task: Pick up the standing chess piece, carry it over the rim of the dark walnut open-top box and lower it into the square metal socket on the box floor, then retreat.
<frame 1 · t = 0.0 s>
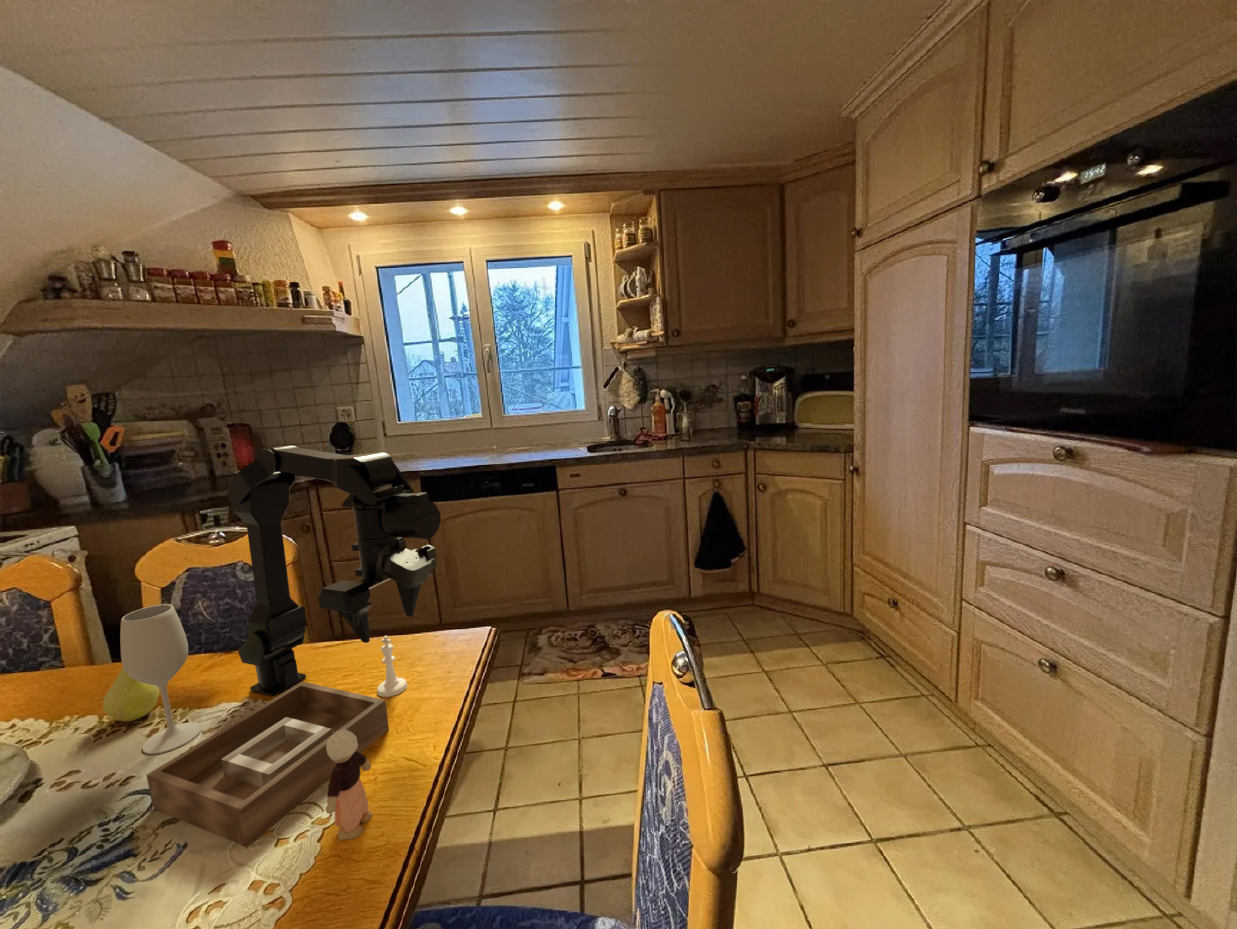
hand: (389, 628, 84), 15 cm above the table, fingers open, 9 cm apart
wineglass: (173, 739, 82), on the table
grandmother figurine: (353, 829, 64), on the table
chess piece: (392, 689, 93), on the table
fruit: (138, 716, 89), on the table
walnut box: (282, 765, 75), on the table
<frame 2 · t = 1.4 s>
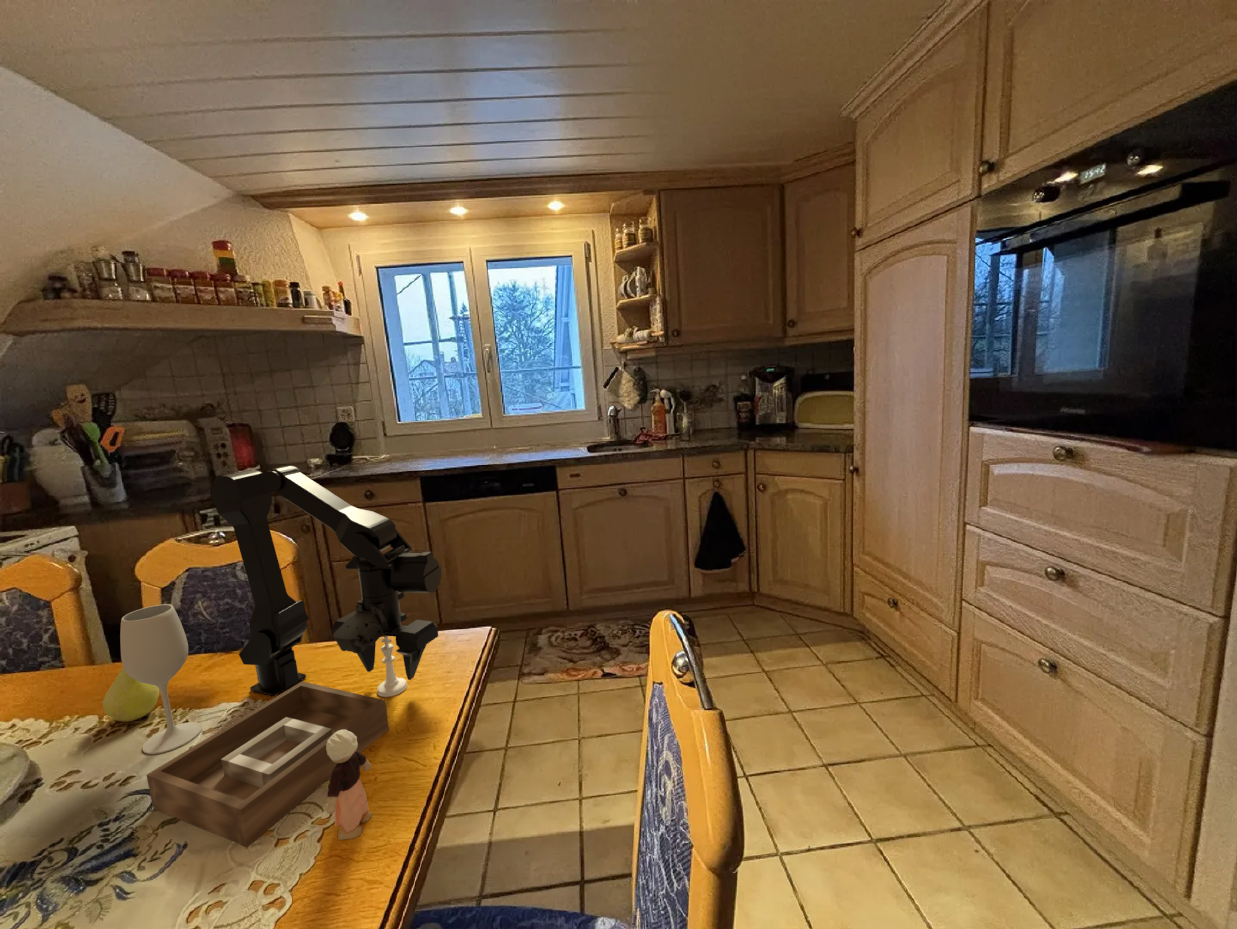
hand: (390, 674, 93), 3 cm above the table, fingers open, 9 cm apart
nothing on the table moved.
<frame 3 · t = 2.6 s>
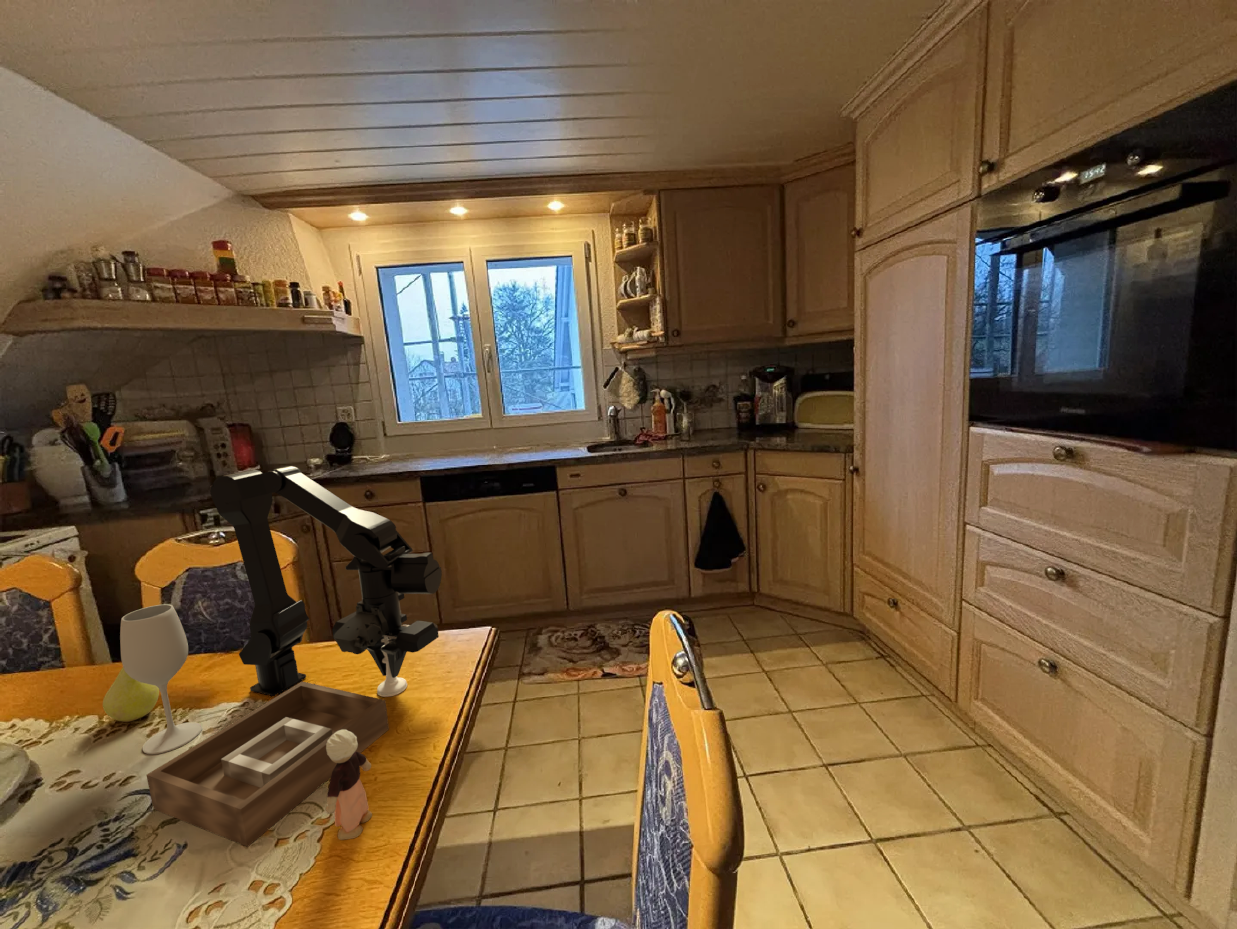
hand: (390, 675, 93), 3 cm above the table, fingers closed on chess piece
chess piece: (392, 689, 93), on the table, touching gripper
everything else where it was.
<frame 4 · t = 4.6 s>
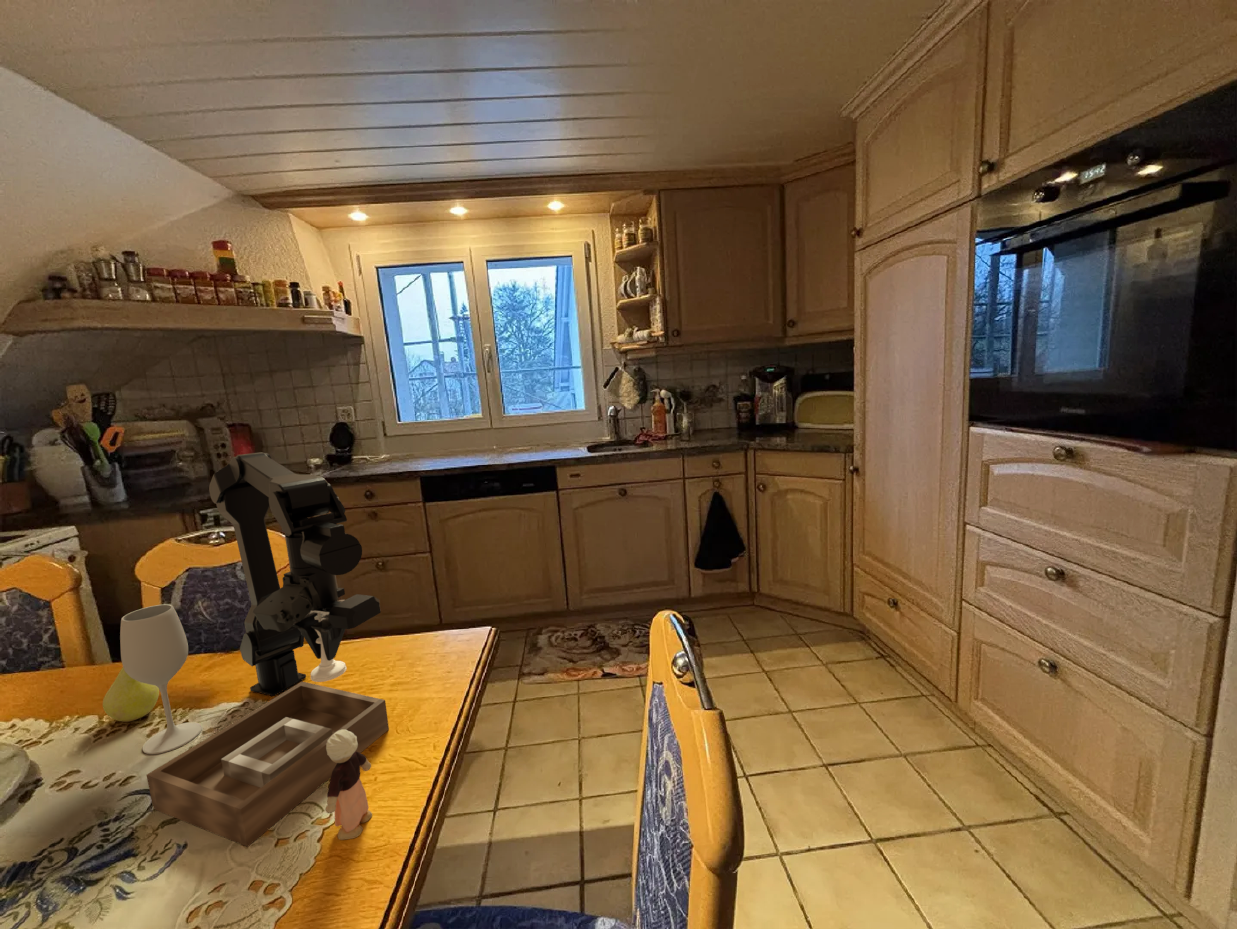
hand: (326, 658, 81), 12 cm above the table, fingers closed on chess piece
chess piece: (329, 674, 81), point 9 cm above the table, touching gripper
everything else where it was.
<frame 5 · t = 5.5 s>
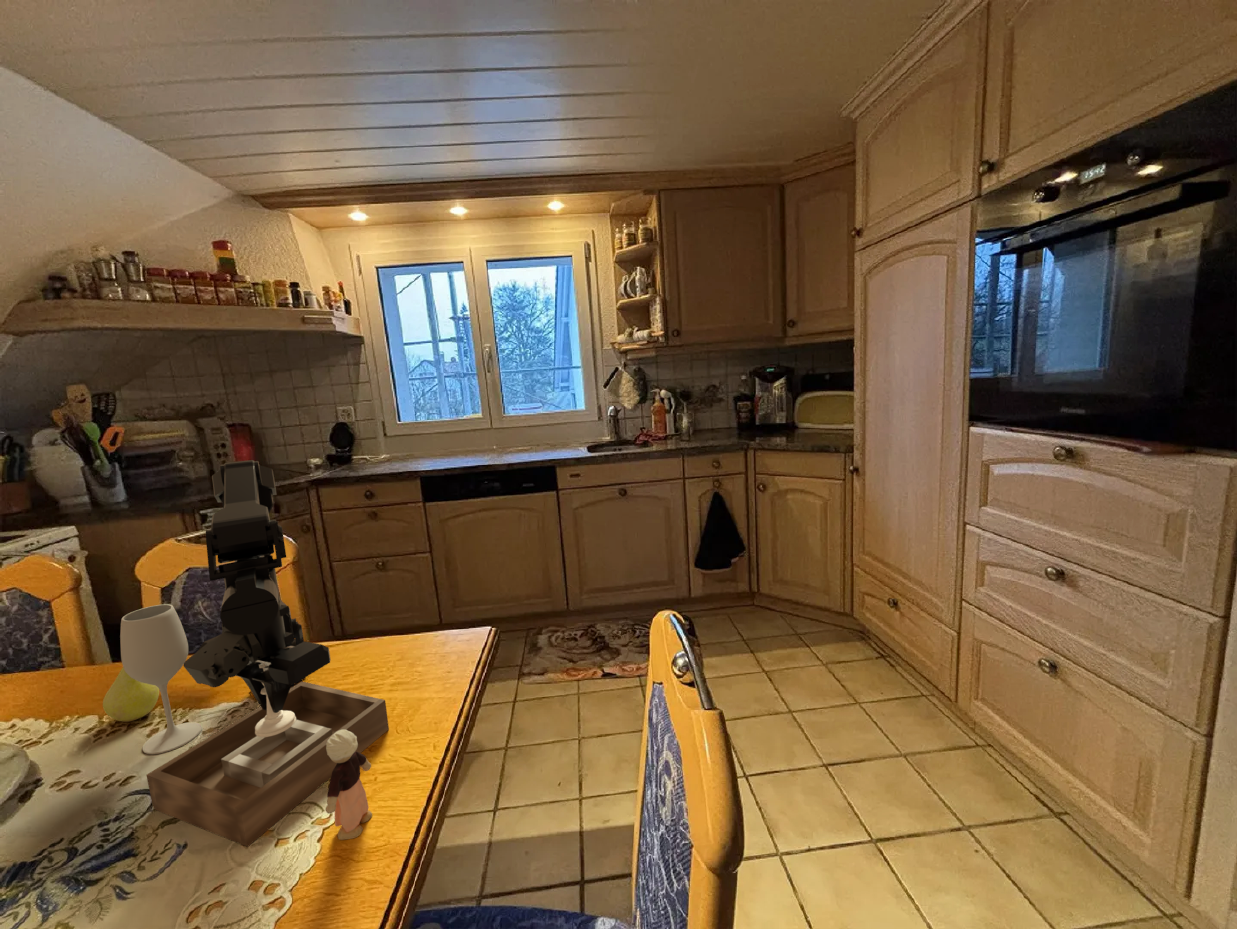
hand: (272, 709, 74), 9 cm above the table, fingers closed on chess piece
chess piece: (276, 727, 74), point 6 cm above the table, touching gripper
everything else where it was.
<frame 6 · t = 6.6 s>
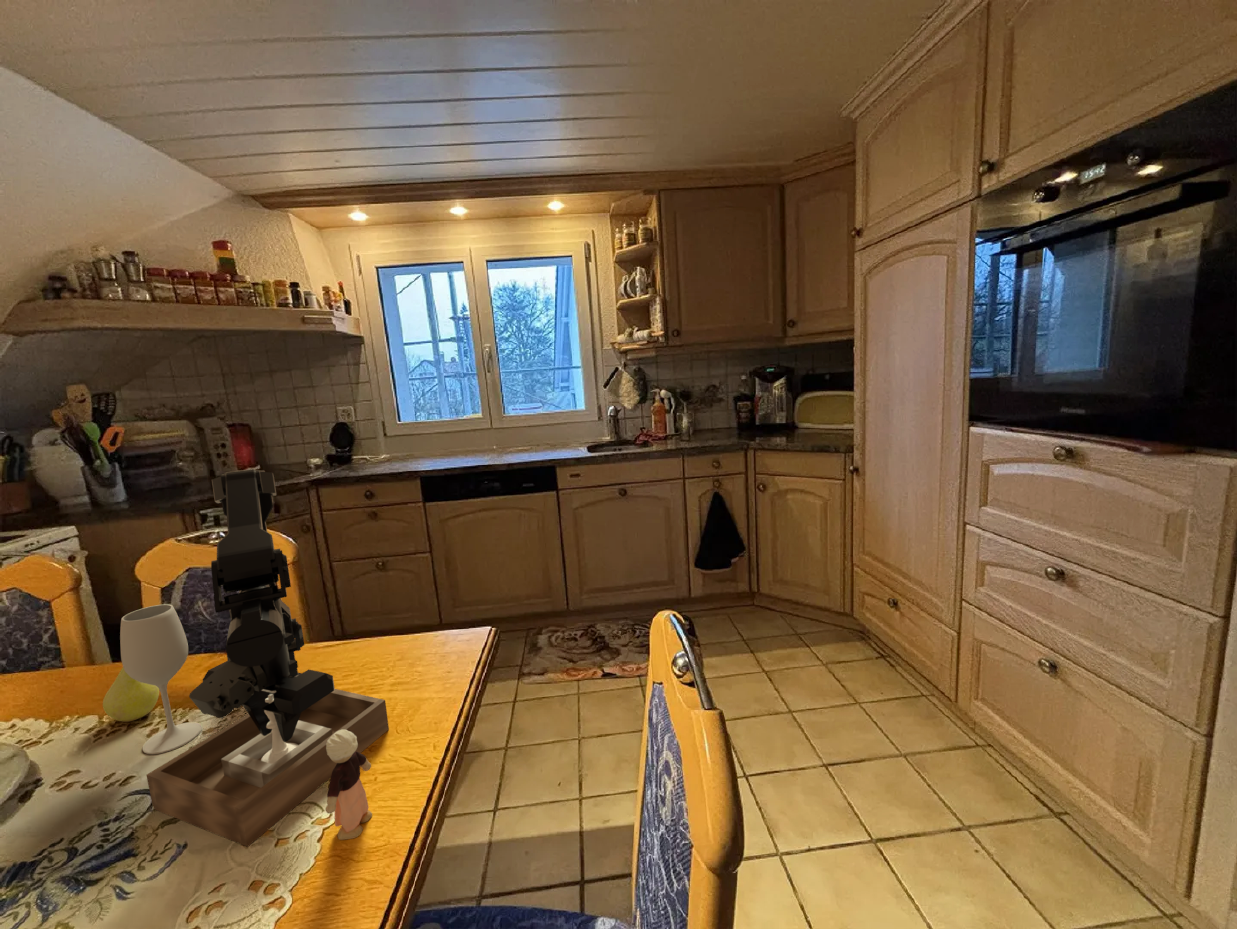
hand: (277, 737, 74), 4 cm above the table, fingers open, 4 cm apart
chess piece: (281, 760, 75), point 1 cm above the table, touching walnut box
everything else where it was.
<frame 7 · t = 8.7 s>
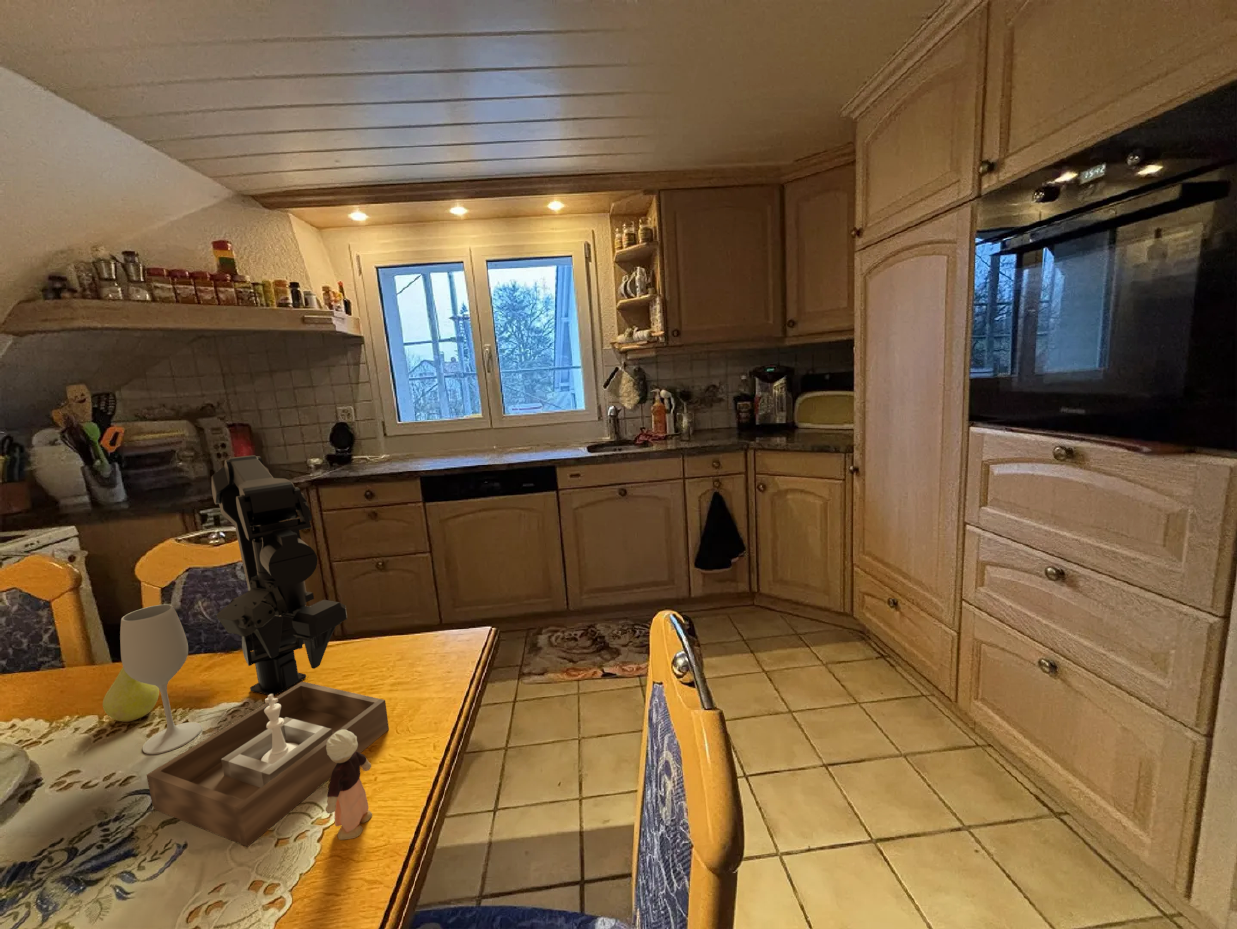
hand: (294, 662, 81), 12 cm above the table, fingers open, 9 cm apart
nothing on the table moved.
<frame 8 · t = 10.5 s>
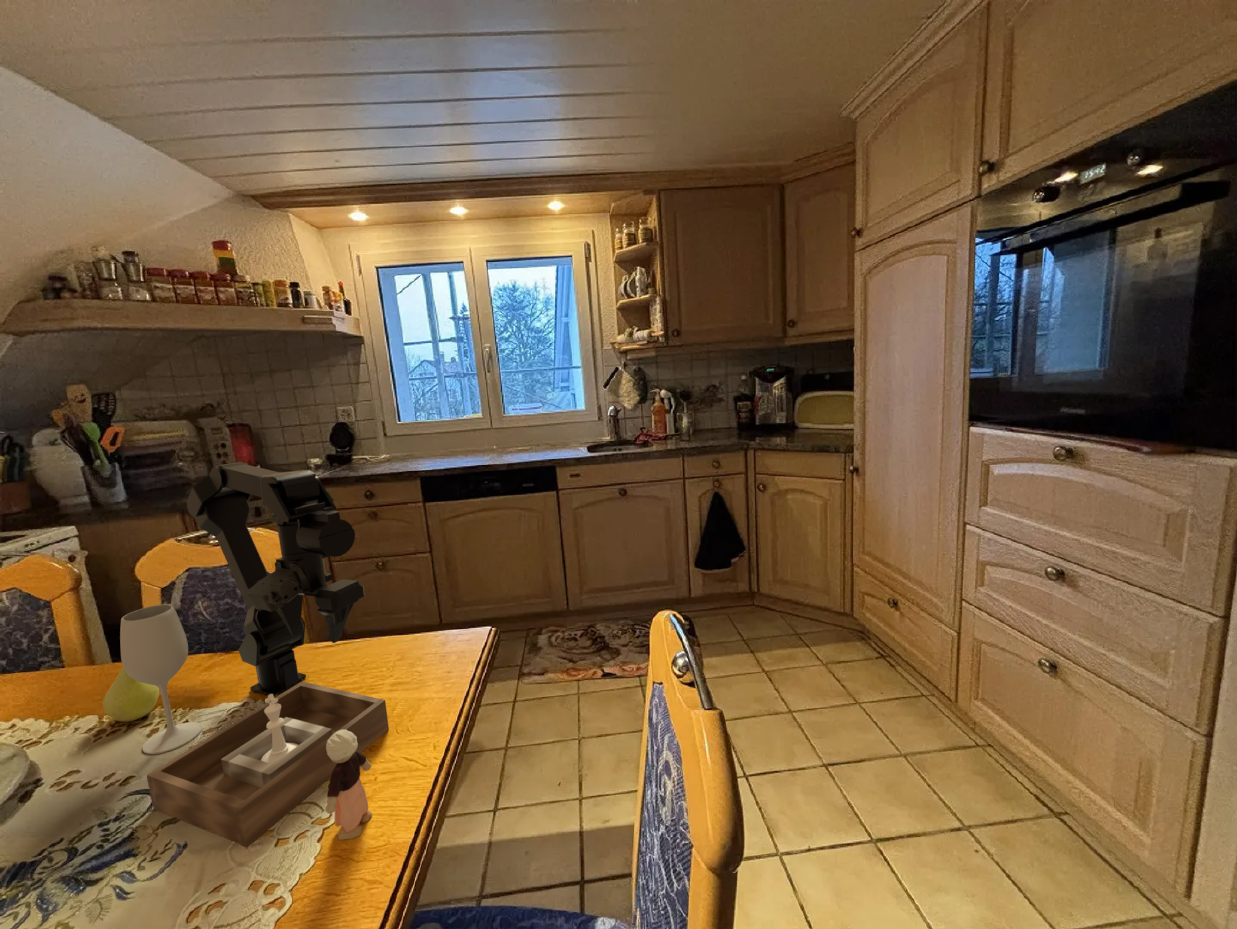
hand: (315, 638, 88), 12 cm above the table, fingers open, 9 cm apart
nothing on the table moved.
at the end: chess piece 0.1 cm off-centre on the walnut box, point 0.8 cm above the walnut box's base; chess piece tilted 0°; the gripper is holding nothing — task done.
